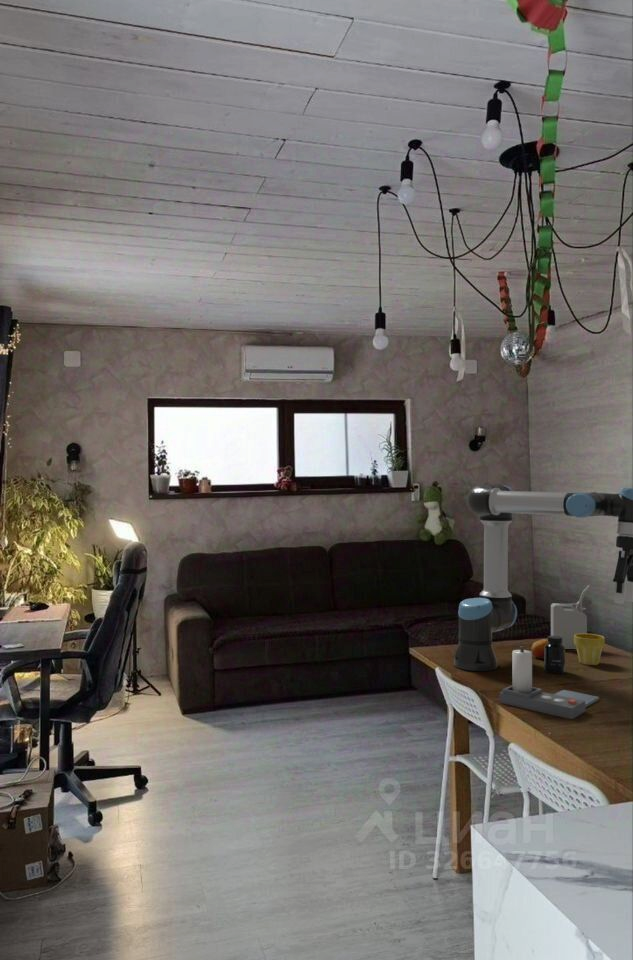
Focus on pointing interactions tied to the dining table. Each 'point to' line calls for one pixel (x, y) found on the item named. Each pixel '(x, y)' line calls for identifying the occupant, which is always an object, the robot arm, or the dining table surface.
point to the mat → (578, 696)
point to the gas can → (568, 621)
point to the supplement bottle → (554, 655)
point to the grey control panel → (543, 702)
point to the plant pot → (589, 648)
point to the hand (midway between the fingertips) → (624, 602)
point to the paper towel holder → (522, 670)
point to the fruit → (539, 648)
